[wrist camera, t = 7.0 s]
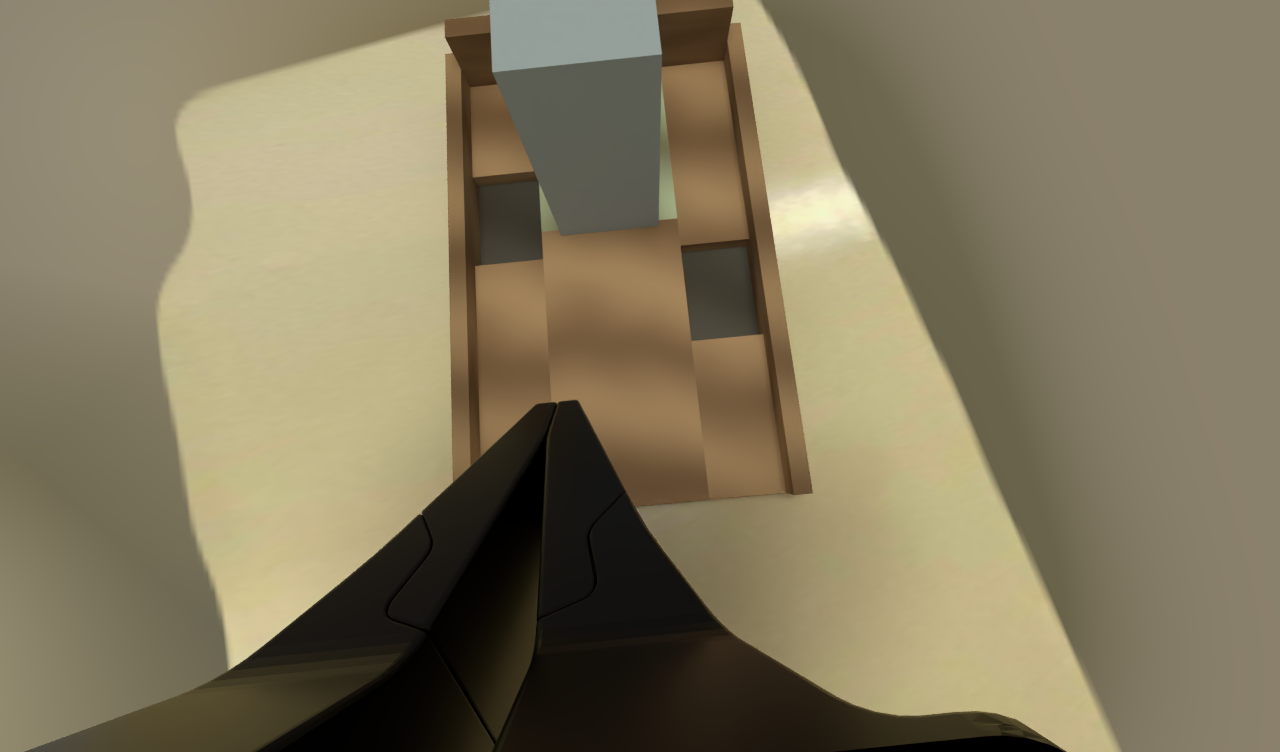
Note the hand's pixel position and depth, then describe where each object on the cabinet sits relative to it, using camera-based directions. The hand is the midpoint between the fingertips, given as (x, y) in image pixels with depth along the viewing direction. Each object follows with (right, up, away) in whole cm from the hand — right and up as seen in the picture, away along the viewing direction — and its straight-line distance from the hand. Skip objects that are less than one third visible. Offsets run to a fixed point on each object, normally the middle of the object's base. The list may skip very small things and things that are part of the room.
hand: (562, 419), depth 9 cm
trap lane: (0, +6, +15) cm, 16 cm away
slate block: (0, +12, +15) cm, 19 cm away
